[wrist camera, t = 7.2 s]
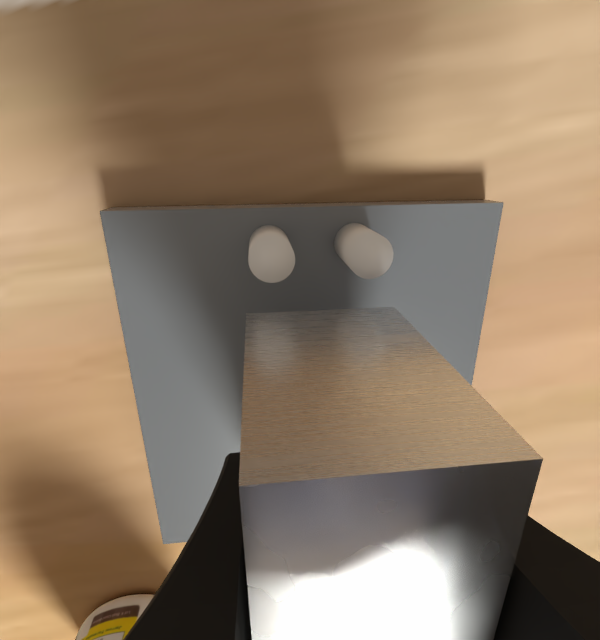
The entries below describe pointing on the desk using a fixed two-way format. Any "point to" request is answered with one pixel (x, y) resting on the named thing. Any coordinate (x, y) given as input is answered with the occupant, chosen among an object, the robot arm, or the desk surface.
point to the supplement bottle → (114, 618)
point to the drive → (373, 483)
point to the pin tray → (273, 307)
